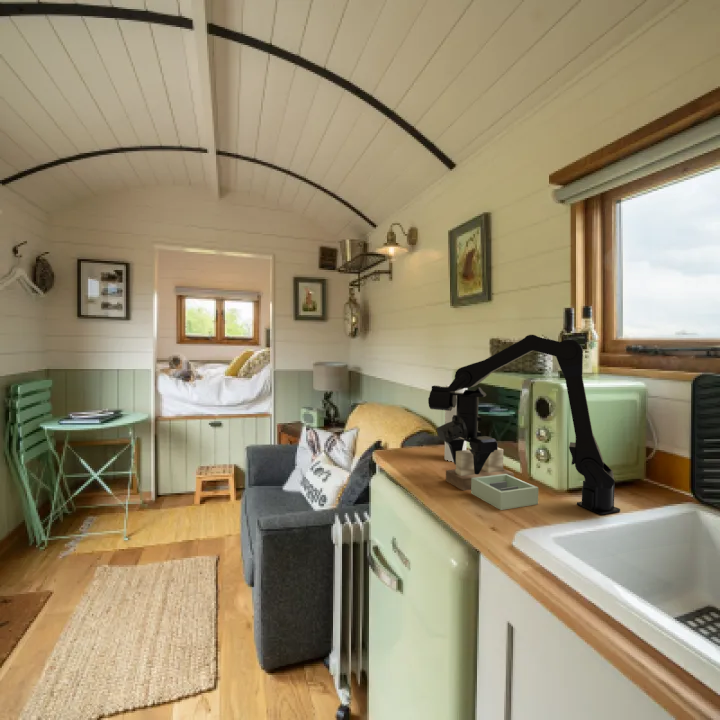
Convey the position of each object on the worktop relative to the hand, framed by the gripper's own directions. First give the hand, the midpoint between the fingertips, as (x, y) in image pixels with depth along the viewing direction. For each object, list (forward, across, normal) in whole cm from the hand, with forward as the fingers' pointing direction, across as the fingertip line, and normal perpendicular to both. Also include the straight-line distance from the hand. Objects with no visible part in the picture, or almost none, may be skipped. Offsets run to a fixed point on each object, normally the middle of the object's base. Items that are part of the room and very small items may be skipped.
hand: (466, 469), depth 106 cm
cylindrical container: (+4, -22, +12) cm, 25 cm away
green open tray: (+4, +12, +2) cm, 13 cm away
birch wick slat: (+4, 0, 0) cm, 4 cm away
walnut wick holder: (+4, 0, +4) cm, 6 cm away
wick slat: (+4, 0, +9) cm, 10 cm away
